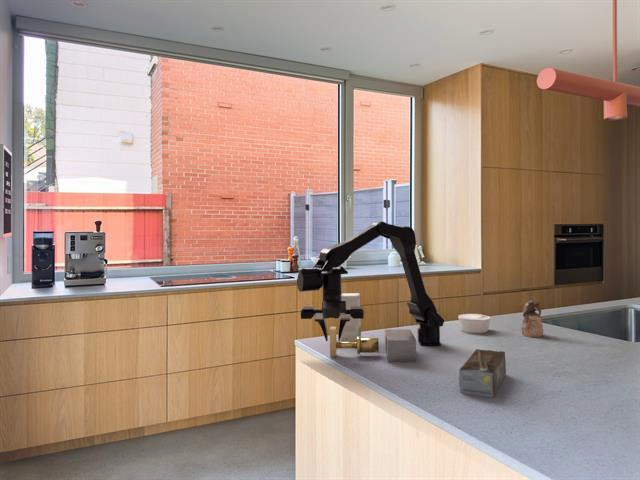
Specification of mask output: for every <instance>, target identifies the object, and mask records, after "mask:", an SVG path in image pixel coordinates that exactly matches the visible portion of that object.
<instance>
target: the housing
mask: <svg viewBox="0 0 640 480" xmlns="http://www.w3.org/2000/svg"><path fill="white" fill-rule="evenodd" d="M384 351H385V356H386V360H387V364H390V363H392V364H393V363H394V364H395V363H396V364H397V363H398V364H399V363H400V364H402V363H403V364H404V363H406V364H408V363H409V364H411V363H413V364H414V363H416V364H417V339H416V337H415V336H414V332H413V331H412V330H411V329H409V328H407V329H384Z"/></svg>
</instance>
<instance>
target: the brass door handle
mask: <svg viewBox="0 0 640 480" xmlns="http://www.w3.org/2000/svg"><path fill="white" fill-rule="evenodd" d="M337 340H338V338H337V326H330V327H329V357H337V353H338V351H337V350H338V349H340V350H343V349H345V350H346V349H347V350H349V349H352V350H355V349H357V352H356V353H357V355H361V354H367V353H368V354H370V353H371V354H372V353H373V354H374V353H375V354H379V350H380V347H379V337H361V338H360V336H357V342H344V341H337Z"/></svg>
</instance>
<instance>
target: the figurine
mask: <svg viewBox="0 0 640 480" xmlns="http://www.w3.org/2000/svg"><path fill="white" fill-rule="evenodd" d="M540 304H541V302H540V301H539V300H538V301H536V302H534V301H533V300H530V301H529V300H528V301H527V302H526V303H525V304H524V307H523V308H522V309H521V310H522V316H523V319H522V325H521V330H520V331H521V332H520V334H521V336H523V337H528V338H541V337H543V336H544V327H543V325H544V324H543V322H542V318H541V314H542V309H541V307H539V305H540ZM536 311H537V312H536Z"/></svg>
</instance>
